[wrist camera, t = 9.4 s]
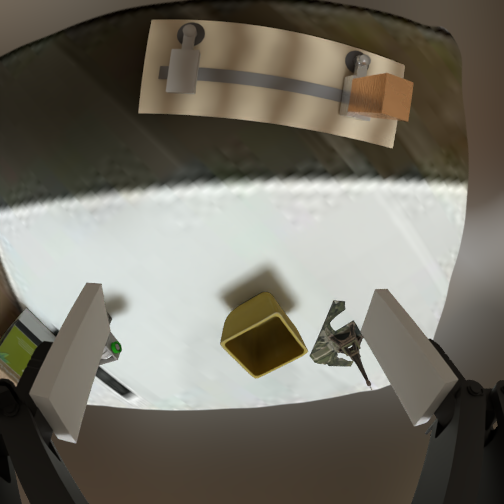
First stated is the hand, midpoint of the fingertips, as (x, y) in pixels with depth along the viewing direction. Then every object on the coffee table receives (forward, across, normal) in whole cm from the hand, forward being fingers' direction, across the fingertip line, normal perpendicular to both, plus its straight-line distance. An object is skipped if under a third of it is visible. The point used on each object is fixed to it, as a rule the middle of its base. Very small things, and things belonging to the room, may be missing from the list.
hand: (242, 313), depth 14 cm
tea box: (+28, -37, -31) cm, 56 cm away
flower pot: (+27, +6, -19) cm, 34 cm away
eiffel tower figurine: (+27, +22, -25) cm, 43 cm away
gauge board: (+27, +6, +14) cm, 31 cm away
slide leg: (+24, +15, +14) cm, 31 cm away
